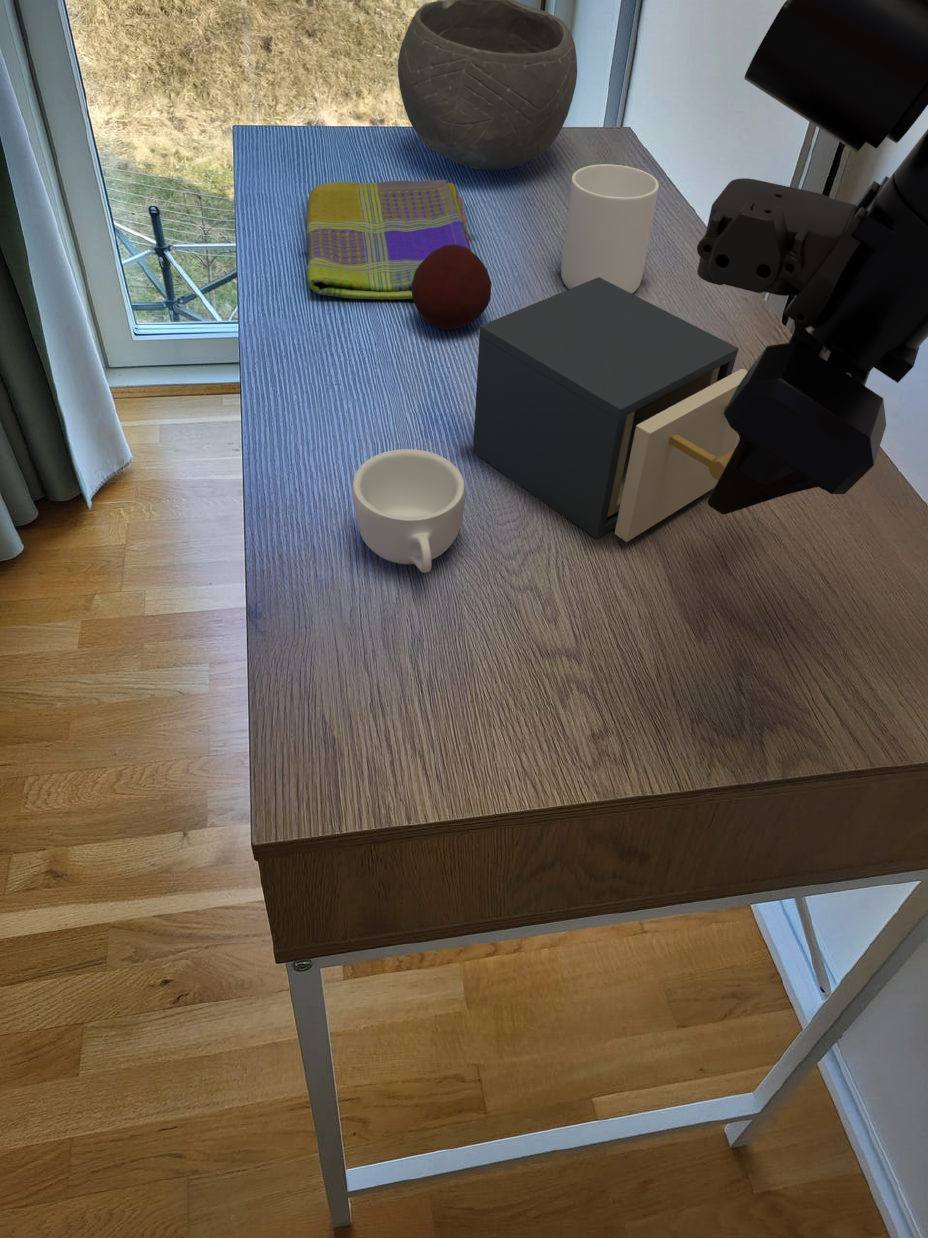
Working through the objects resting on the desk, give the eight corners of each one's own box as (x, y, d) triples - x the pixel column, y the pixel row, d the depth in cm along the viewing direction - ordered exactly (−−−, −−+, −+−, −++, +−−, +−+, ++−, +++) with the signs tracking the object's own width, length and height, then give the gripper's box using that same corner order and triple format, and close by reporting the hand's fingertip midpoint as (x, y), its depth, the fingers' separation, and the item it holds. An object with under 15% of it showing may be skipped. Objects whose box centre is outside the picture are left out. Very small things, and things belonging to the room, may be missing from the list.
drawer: (777, 512, 71) (815, 405, 64) (679, 579, 65) (710, 469, 59) (605, 409, 80) (623, 305, 73) (507, 460, 74) (516, 353, 67)
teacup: (347, 515, 70) (343, 455, 66) (448, 502, 72) (450, 443, 68) (370, 609, 63) (368, 548, 59) (481, 593, 65) (486, 533, 61)
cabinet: (704, 474, 75) (739, 347, 67) (596, 539, 69) (620, 409, 61) (580, 398, 82) (598, 276, 74) (472, 452, 76) (479, 325, 68)
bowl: (474, 214, 109) (491, 75, 98) (358, 141, 118) (362, 4, 106) (594, 170, 120) (623, 39, 108) (480, 105, 128) (495, -22, 117)
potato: (399, 337, 88) (398, 265, 83) (426, 296, 94) (427, 226, 89) (475, 351, 87) (479, 278, 82) (498, 308, 93) (503, 238, 88)
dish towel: (300, 302, 92) (297, 275, 90) (309, 199, 109) (308, 174, 107) (479, 302, 93) (481, 275, 91) (461, 201, 110) (462, 176, 108)
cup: (543, 281, 97) (554, 179, 90) (610, 245, 104) (625, 147, 96) (610, 309, 93) (626, 205, 86) (675, 270, 100) (695, 170, 93)
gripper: (832, 49, 46) (667, 306, 58) (730, 179, 34) (549, 469, 46) (1027, 176, 45) (820, 408, 57) (994, 353, 33) (742, 598, 45)
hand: (738, 460), depth 51 cm, fingers open, 9 cm apart
